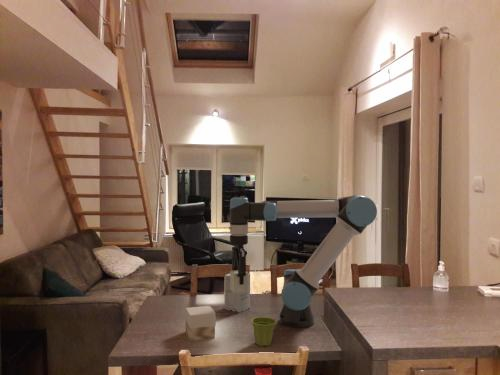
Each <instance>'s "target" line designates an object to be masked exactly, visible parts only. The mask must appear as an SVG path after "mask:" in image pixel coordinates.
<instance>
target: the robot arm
mask: <svg viewBox="0 0 500 375" xmlns="http://www.w3.org/2000/svg"><path fill="white" fill-rule="evenodd" d="M377 215H378V209H377V205H376V203H375V202H374V200H372V199H371V198H370V197H368V196H366V195H364V194H363V195H361V194H355V195H350V196H343V197H341V196H338V197H336V198H335V199H316V200H315V199H314V200H313V199H311V200H263V201H261V202H250V201H249V199H248V197H232V198H231V199H230V202H229V227H228V230H229V234H230V236H229V244H230V245H233V246H232V247H231V254H232V256H231V271H233V270H238V275H237V292H244V276H246V272H247V251H246V250H245V248H244V246H245V245H248V243H249V235H248V233H249V221H256V222H257V221H258V222H259V221H263V222H270V221H271V222H272V221H273V222H274V221H275V222H276V220H277V219H286V218H287V219H288V218H289V219H296V218H299V219H300V218H301V219H304V218H306V219H307V218H309V219H310V218H314V219H315V218H335V219H336V220H337V221H336V223H335V224H334V226H333V227H332V228H331V229H330V231H329V232H328V234H326V236H325V237H324V239H323V240H322V241H321V243H320V244H319V245H318V246H317V248H316V249H315V251H314V252H313V253H312V254H311V256H310V257H309V258H308V259H307V261H306V263H305V264H304V265H303V266H302V267H301V268H297V269H296V268H295V269H292V268H291V269H285V270H284V271H283V286H282V288H281V295H280V296H281V300H282V302H283V304H282V306H281V307H282V308H281V311H280V314H279V320H278V321H279V323H280V324H282V325H283V326H286V327H291V328H309V327H311V326H313V325H314V323H315V317H314V314H313V310H312V307H311V302H312V298H313V297H314V295H315V294H316V293H317V291H318V290H319V288H320V284H319V283H320V281H321V280H322V278H323V277H324V276H325V274H327V272H328V271H329V269H330V268H331V266H333V264H334V263H335V261H336V260H337V259H338V258H339V256H340V255H341V254H342V252H343V251H344V250H345V248H346V247H347V246H348V245H349V244H350V242H351V241H352V239H353V238H354V237H355V236H358V235H361V234H362V233H363V232H364V230H365V229H366V228H367V227H368V226H370V225H371V224H372V223H373V222H375V221H376V218H377Z"/></svg>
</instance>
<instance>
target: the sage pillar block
mask: <svg viewBox="0 0 500 375" xmlns="http://www.w3.org/2000/svg"><path fill="white" fill-rule="evenodd" d="M229 274H230V290H231V291H232V292H233V293H242V292H237V275H238V270H230V272H229ZM248 274H249V272H248V271H246V276H244V292H248Z"/></svg>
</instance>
